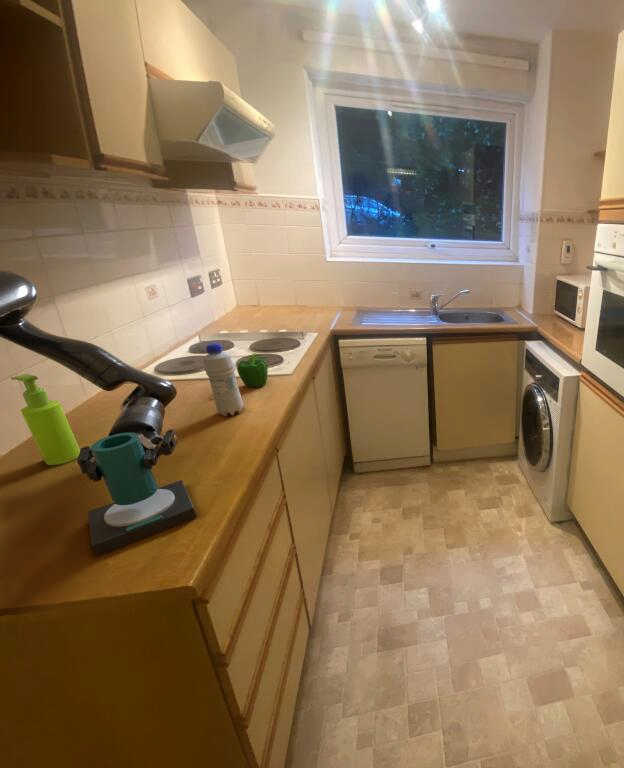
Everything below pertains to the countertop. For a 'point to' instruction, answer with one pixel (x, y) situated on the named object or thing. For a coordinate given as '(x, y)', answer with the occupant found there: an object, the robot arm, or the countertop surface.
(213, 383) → the bottle
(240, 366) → the bell pepper
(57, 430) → the soap dispenser
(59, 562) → the countertop surface
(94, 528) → the scale
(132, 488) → the jar
